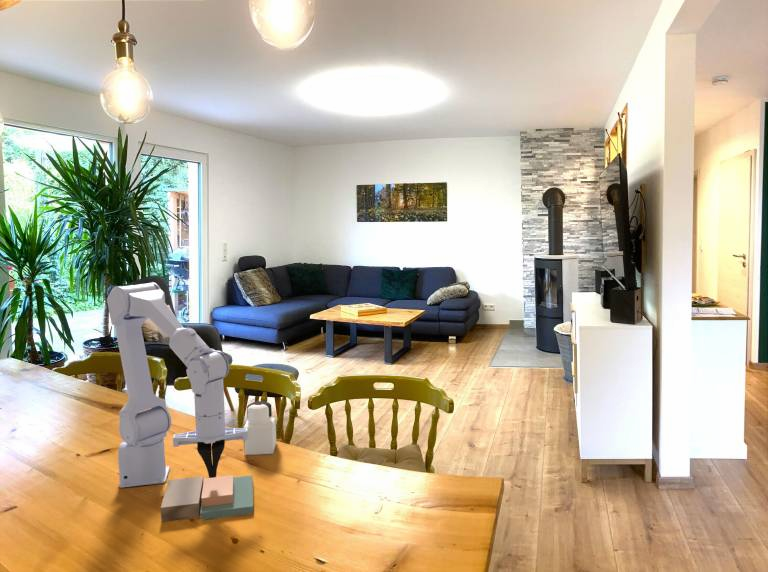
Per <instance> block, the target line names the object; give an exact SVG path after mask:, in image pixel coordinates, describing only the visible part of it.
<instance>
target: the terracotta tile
mask: <svg viewBox="0 0 768 572" xmlns="http://www.w3.org/2000/svg"><path fill="white" fill-rule="evenodd" d="M233 478H234V475H233V474H230V475H221V476H220V475H219V476H216V477H214V478H209V477H203V490H202V497H201V503H202V504H201V505H202V507H205V506H213V505H221V504H229V503H233V484H234V482H233Z"/></svg>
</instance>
